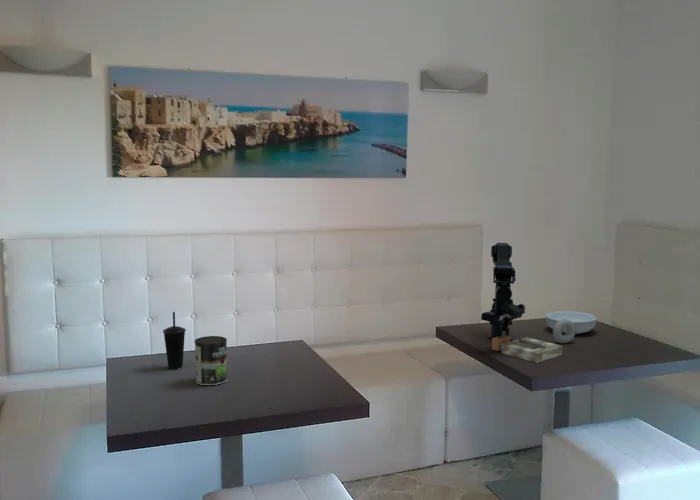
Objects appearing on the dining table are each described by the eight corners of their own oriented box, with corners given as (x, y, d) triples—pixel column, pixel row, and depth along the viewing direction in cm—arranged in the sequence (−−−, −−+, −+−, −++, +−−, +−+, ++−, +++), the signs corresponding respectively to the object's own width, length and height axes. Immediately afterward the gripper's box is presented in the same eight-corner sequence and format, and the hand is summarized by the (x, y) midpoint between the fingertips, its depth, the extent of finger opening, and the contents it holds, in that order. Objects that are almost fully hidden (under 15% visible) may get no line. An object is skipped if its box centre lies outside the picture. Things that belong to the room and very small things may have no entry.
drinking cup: (190, 365, 234) (189, 310, 232) (178, 372, 227) (176, 315, 225) (172, 363, 237) (170, 309, 234) (159, 369, 230) (157, 313, 227)
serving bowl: (560, 323, 299) (561, 308, 298) (604, 332, 284) (605, 316, 283) (535, 331, 285) (535, 315, 284) (580, 340, 270) (581, 324, 269)
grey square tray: (501, 353, 251) (501, 340, 251) (526, 345, 261) (527, 333, 261) (537, 362, 239) (537, 349, 238) (562, 354, 249) (562, 341, 249)
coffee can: (234, 379, 219) (233, 338, 218) (212, 388, 211) (211, 345, 209) (211, 374, 225) (210, 334, 223) (189, 382, 216) (187, 340, 214)
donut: (571, 341, 269) (572, 317, 267) (576, 343, 265) (577, 319, 264) (550, 343, 266) (551, 318, 264) (555, 345, 262) (556, 320, 261)
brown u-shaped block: (491, 349, 256) (492, 331, 255) (503, 345, 261) (504, 328, 260) (498, 350, 254) (498, 333, 253) (510, 347, 259) (510, 330, 258)
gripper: (504, 302, 243) (503, 344, 245) (534, 296, 255) (533, 336, 257) (480, 298, 251) (479, 338, 253) (511, 292, 263) (509, 330, 265)
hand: (501, 335), depth 257 cm, fingers closed on brown u-shaped block, 2 cm apart
